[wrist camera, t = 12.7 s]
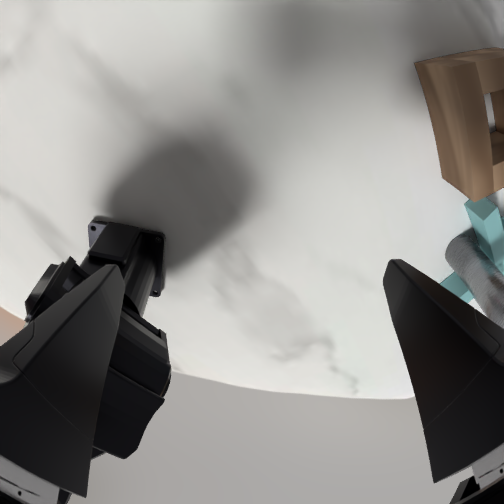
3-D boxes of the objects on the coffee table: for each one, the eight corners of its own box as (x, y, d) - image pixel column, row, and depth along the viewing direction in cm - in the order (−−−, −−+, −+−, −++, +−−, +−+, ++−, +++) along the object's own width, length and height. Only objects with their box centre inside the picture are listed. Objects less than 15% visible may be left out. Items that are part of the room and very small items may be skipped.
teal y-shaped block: (428, 298, 28) (440, 318, 25) (468, 190, 20) (488, 205, 18) (487, 290, 28) (499, 306, 25) (525, 199, 21) (542, 212, 18)
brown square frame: (442, 177, 20) (474, 202, 16) (414, 63, 15) (452, 66, 11) (511, 147, 18) (543, 166, 14) (494, 47, 13) (531, 53, 9)
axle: (452, 269, 25) (515, 367, 15) (440, 251, 24) (512, 356, 13) (474, 247, 24) (544, 339, 13) (464, 227, 23) (545, 325, 12)
